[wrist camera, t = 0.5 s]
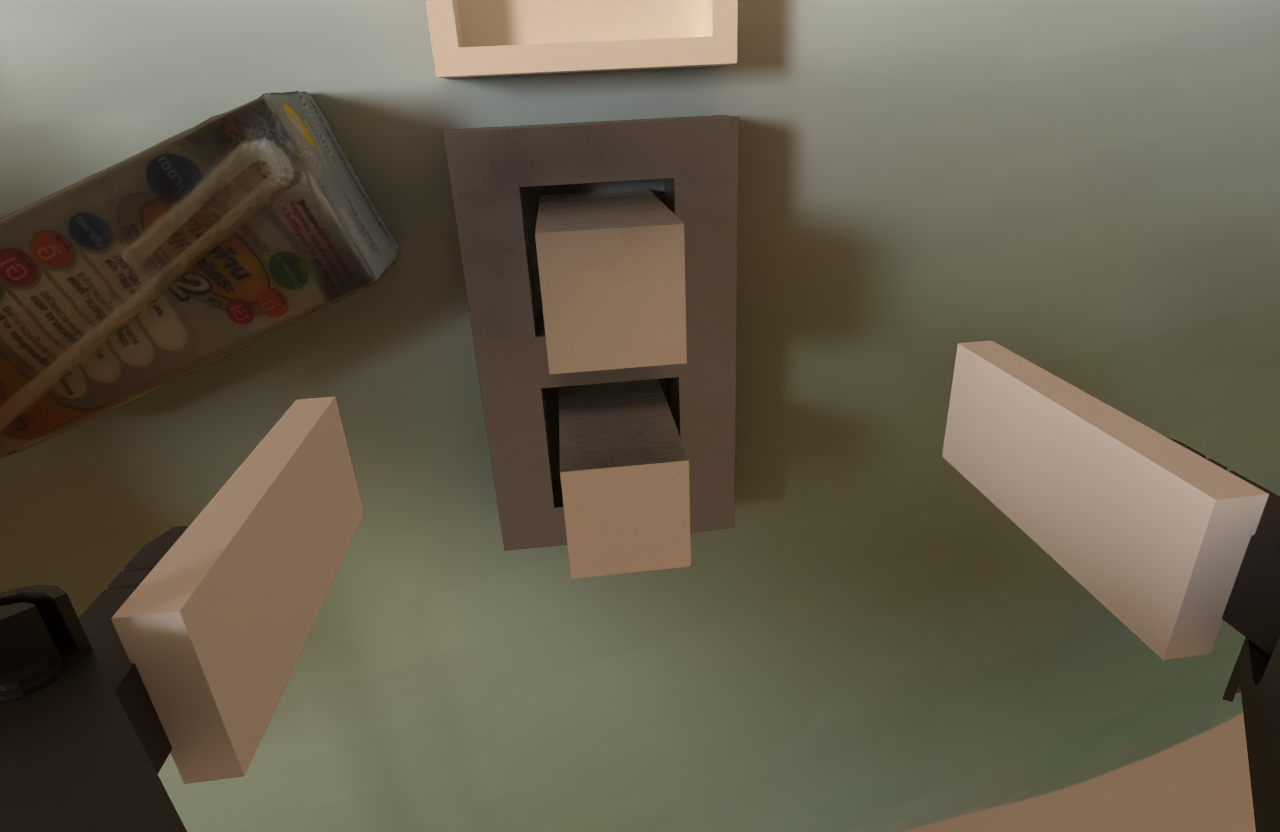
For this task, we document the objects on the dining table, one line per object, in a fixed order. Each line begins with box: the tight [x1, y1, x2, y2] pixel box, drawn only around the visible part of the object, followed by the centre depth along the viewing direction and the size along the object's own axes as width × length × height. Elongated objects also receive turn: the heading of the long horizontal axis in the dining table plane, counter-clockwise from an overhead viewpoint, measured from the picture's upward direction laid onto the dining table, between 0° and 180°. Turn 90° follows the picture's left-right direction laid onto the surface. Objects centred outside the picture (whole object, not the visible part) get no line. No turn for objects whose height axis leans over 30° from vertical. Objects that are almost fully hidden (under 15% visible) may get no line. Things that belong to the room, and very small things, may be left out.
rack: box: [443, 115, 739, 551], centre depth 34 cm, size 12×20×3 cm, turn 3°
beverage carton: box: [0, 91, 399, 459], centre depth 30 cm, size 8×19×7 cm, turn 113°
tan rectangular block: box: [535, 189, 687, 374], centre depth 29 cm, size 5×5×10 cm
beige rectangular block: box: [558, 379, 691, 579], centre depth 33 cm, size 5×5×10 cm
